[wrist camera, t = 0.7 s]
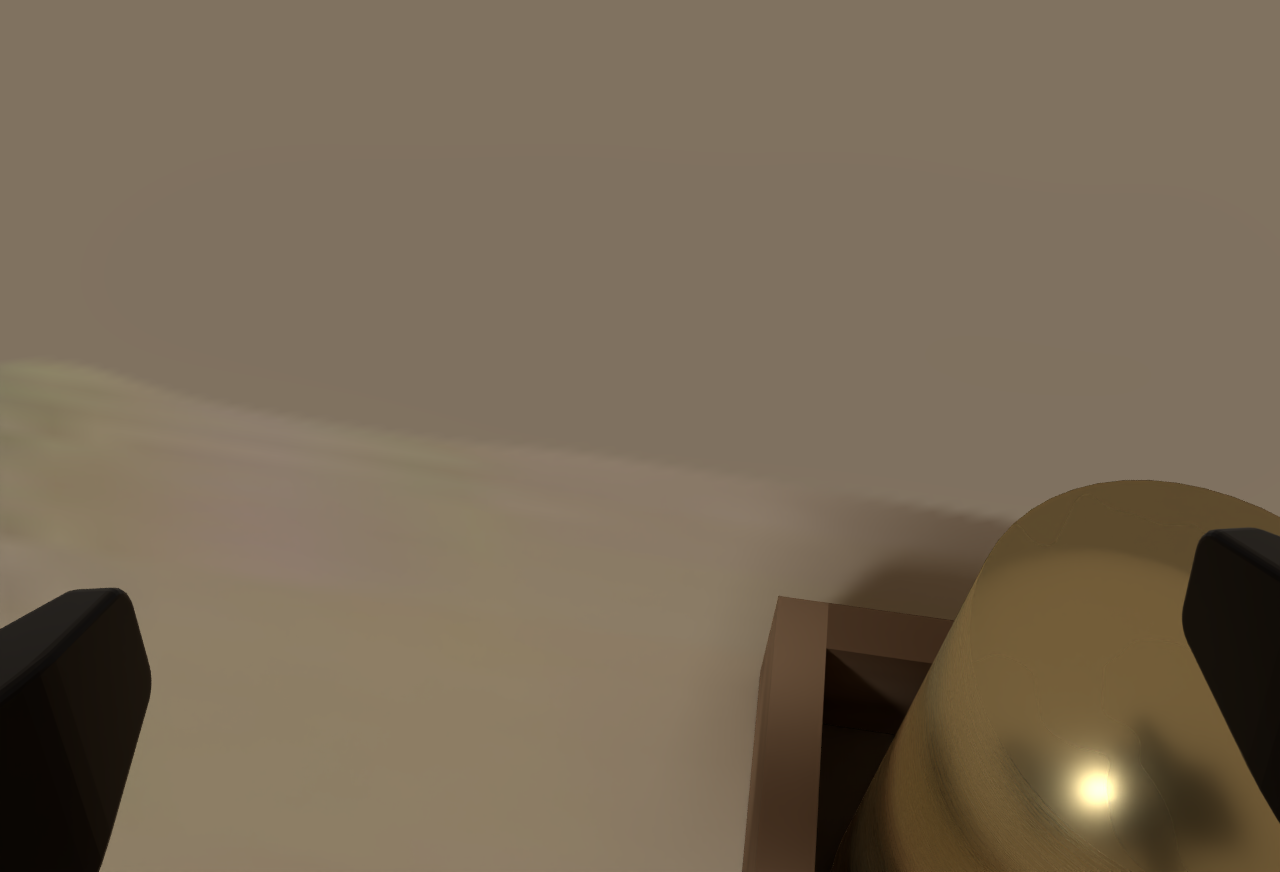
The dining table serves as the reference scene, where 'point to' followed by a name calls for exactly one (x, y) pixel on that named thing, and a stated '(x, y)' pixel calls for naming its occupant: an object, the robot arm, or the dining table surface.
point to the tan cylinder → (1073, 709)
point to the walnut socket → (823, 710)
